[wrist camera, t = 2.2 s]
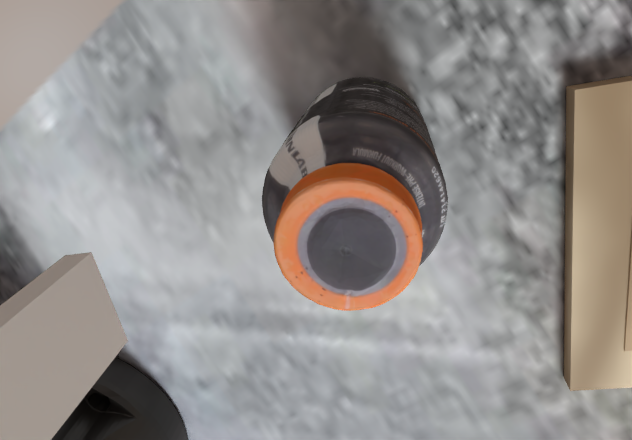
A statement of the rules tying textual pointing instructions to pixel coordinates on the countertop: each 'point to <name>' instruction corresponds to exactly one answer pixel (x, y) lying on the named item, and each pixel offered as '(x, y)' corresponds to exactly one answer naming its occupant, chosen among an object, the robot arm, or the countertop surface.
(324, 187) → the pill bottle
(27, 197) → the countertop surface
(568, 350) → the maple board
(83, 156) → the countertop surface
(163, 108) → the countertop surface
